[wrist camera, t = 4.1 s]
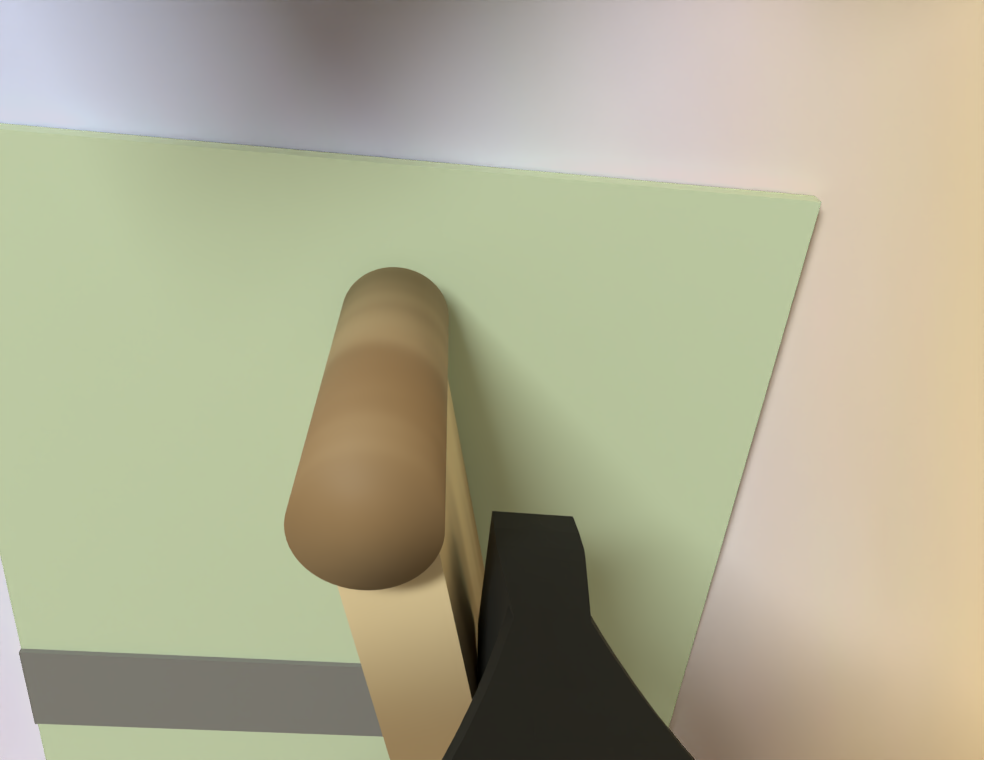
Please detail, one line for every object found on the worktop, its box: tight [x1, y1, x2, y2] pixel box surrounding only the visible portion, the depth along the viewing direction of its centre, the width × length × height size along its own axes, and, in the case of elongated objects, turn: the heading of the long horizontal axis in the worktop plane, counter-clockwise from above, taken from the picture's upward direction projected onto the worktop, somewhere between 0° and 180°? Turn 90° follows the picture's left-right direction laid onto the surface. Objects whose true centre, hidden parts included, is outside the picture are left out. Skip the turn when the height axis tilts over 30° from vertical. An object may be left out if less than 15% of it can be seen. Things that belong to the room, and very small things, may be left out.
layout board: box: [0, 123, 821, 760], centre depth 18 cm, size 13×22×1 cm, turn 174°
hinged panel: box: [284, 267, 485, 760], centre depth 13 cm, size 8×2×5 cm, turn 8°
